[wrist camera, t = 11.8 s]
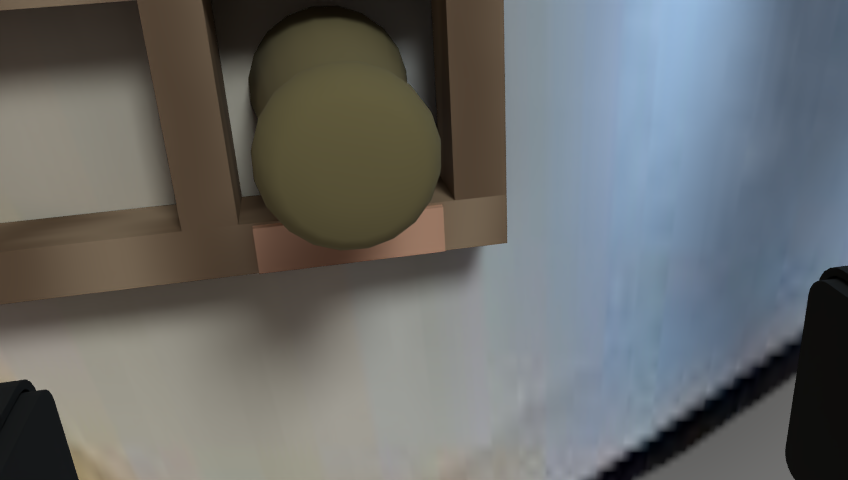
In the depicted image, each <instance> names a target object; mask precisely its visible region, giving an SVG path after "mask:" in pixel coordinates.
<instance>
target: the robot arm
mask: <svg viewBox="0 0 848 480" xmlns="http://www.w3.org/2000/svg"><path fill="white" fill-rule="evenodd" d="M785 456H786V462H787V464H788V468H789V470H790V472H791V474H792V476H793V477H794V479H795V480H848V266H841V267H834V268H829V269H828V270H826V271H824V273H823V274H822V276H821V277H820V280H819V281H817V282H815V283H814V284H813V285H812V286H811V288H810V291H809V296H808V302H807V309H806V315H805V322H804V329H803V335H802V342H801V349H800V355H799V362H798V369H797V375H796V382H795V389H794V395H793V402H792V409H791V415H790V422H789V429H788V435H787V442H786V449H785ZM0 480H79V479H78V476H77V473H76V470H75V466H74V463H73V460H72V457H71V453H70V450H69V447H68V444H67V440H66V437H65V434H64V430H63V427H62V424H61V421H60V417H59V414H58V411H57V408H56V404H55V401H54V399H53V396H52V394H51V393H50V392H49V391H48V390H38V391H36V390H35V387H34V386H33V385H32V383H31V382H30V381H28V380H19V381H11V382H4V383H0Z"/></svg>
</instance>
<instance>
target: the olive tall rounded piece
mask: <svg viewBox="0 0 848 480" xmlns="http://www.w3.org/2000/svg"><path fill="white" fill-rule="evenodd" d="M249 88H250V98H251V104H252V107H253V109H254V111H255V113H256V116H257V118H258V122H257V126H256V130H255V135H254V139H253V143H252V148H251V156H252V166H253V176H254V181H255V183H256V186H257V188H258V190H259V192H260V194H261V196H262V199H263V201H264V203H265V205H266V207H267V208H268V209H269V210H270V212H271V213H272V214H273V215H274V216H275V217H276V218H277V219H278V220H279V221H280V222H281V223H282V224H283V225H284V226H285V228H286V229H287V230H288V231H289V232H291V233H293V234H295V235H297V236H298V237H300V238H302V239H304V240H306V241H307V242H309V243H311V244H313V245H317V246H321V247H326V248H331V249H335V250H340V251H341V250H354V249H367V248H370V247H373V246H376V245H378V244H381V243H384V242H386V241H389V240H391V239H394V238H395V237H397V236H398V235H399V234H400V233H402V232H403V231H404V230H406V229H407V228H408V227H410V226H411V225H412V224H414V223H415V222H416V221H417V219H418V218H419V217H420V215H421V214H422V212H423V211H424V210H425V208H426V207H427V205H428V204H429V203H430V201H431V200H432V197H433V194H434V191H435V187H436V184H437V181H438V178H439V175H440V171H441V139H440V136H439V133H438V130H437V127H436V124H435V121H434V118H433V115H432V113H431V111H430V110H429V109H428V107H427V106H426V105H425V103H424V102H423V101H422V100H421V98H420V97H419V96H418V94H417V93H416V92H415V90H414V89H413V88H412V87H411V86H410V85H409V84H408V83H407V76H406V69H405V67H404V64H403V61H402V58H401V55H400V52H399V49H398V47H397V46H396V45H395V43H394V42H393V41H392V39H391V38H390V37H389V35H388V34H387V33H386V31H385V30H384V29H383V28H382V27H381V26H379V25H378V24H377V23H375V22H374V21H372V20H371V19H369V18H368V17H367V16H365V15H364V14H362V13H359V12H356V11H353V10H349V9H346V8H342V7H339V6H320V7H309V8H307V9H304V10H301V11H299V12H296V13H293V14H291V15H288V16H286V17H285V18H284V19H283V20H282V21H280V22H279V23H278V24H277V25H276V26H274V27H273V28H272V29H271V30H269V31H268V32H267V34H266V35H265V37H264V39H263V40H262V42H261V43H260V45H259V47H258V48H257V50H256V52H255V53H254V56H253V61H252V65H251V70H250V74H249Z"/></svg>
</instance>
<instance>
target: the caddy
mask: <svg viewBox="0 0 848 480" xmlns="http://www.w3.org/2000/svg"><path fill="white" fill-rule="evenodd" d="M120 1H133V0H0V10H13V9H26V8H40V7H53V6H66V5H80V4H93V3H106V2H120ZM137 4H138V10H139V15H140V20H141V25H142V30H143V35H144V40H145V45H146V51H147V56H148V61H149V66H150V71H151V76H152V81H153V87H154V92H155V97H156V102H157V107H158V112H159V117H160V122H161V128H162V133H163V138H164V143H165V148H166V153H167V158H168V164H169V169H170V174H171V179H172V184H173V189H174V194H175V199H176V204H174V205H164V206H155V207H146V208H137V209H128V210H118V211H109V212H100V213H91V214H82V215H72V216H63V217H54V218H45V219H36V220H26V221H17V222H8V223H0V304H8V303H17V302H25V301H33V300H41V299H49V298H58V297H66V296H74V295H82V294H91V293H99V292H107V291H115V290H124V289H132V288H140V287H148V286H156V285H165V284H173V283H181V282H189V281H198V280H206V279H214V278H222V277H230V276H239V275H247V274H255V273H259V274H263V273H271V272H279V271H288V270H296V269H304V268H312V267H320V266H329V265H337V264H345V263H353V262H362V261H370V260H378V259H386V258H394V257H403V256H411V255H419V254H427V253H435V252H444V251H445V250H453V249H461V248H469V247H477V246H485V245H494V244H502V243H507V198H506V131H505V64H504V0H431V9H432V28H433V48H434V68H435V88H436V108H437V127H438V133H439V136H440V139H441V171H440V176H439V178H438V181H437V184H436V187H435V191H434V194H433V197H432V200H431V201H430V203H429V204H428V205H427V207H426V208H425V210H424V211H423V212H422V214H421V215H420V217H419V218H418V219H417V221H416V222H415V223H414V224H412V225H411V226H410V227H408V228H407V229H406V230H404V231H403V232H402V233H400V234H399V235H398V236H397V237H395V238H394V239H391V240H389V241H386V242H384V243H381V244H378V245H376V246H373V247H370V248H367V249H354V250H341V251H340V250H335V249H331V248H326V247H321V246H317V245H313V244H311V243H309V242H307V241H306V240H304V239H302V238H300V237H298V236H297V235H295V234H293V233H291V232H289V231H288V230H287V229H286V228H285V226H284V225H283V224H282V223H281V222H280V221H279V220H278V219H277V218H276V217H275V216H274V215H273V214H272V213H271V212H270V210H269V209H268V208H267V207H266V205H265V203H264V201H263V199H262V196H261V195H256V196H247V197H242V195H241V188H240V182H239V176H238V169H237V163H236V157H235V150H234V144H233V138H232V132H231V125H230V119H229V113H228V106H227V100H226V94H225V87H224V81H223V75H222V68H221V62H220V56H219V50H218V43H217V37H216V31H215V24H214V18H213V12H212V5H211V0H137Z"/></svg>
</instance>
